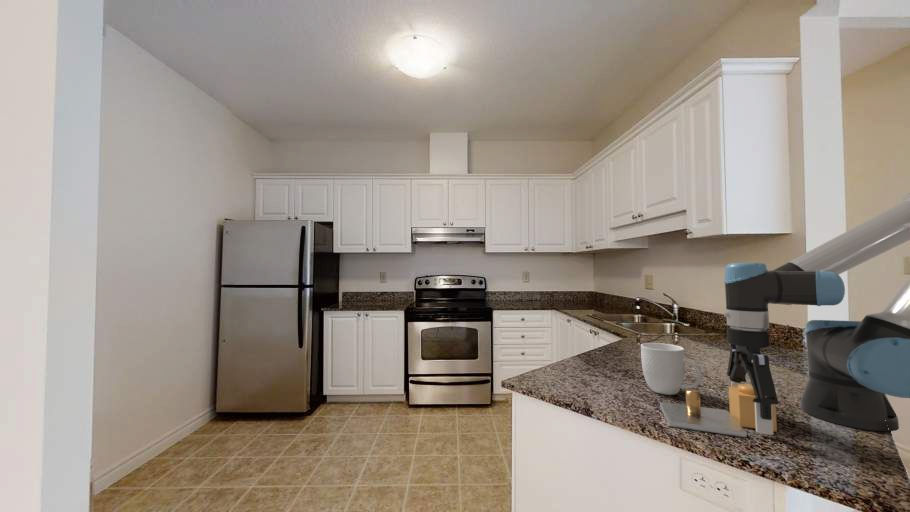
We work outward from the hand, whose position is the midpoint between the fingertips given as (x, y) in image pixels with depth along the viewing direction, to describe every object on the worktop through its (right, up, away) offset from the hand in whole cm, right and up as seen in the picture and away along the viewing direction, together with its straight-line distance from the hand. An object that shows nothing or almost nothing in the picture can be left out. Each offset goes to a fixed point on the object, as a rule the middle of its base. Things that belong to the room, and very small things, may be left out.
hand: (750, 420), depth 77 cm
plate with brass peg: (-11, -1, +1) cm, 11 cm away
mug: (-6, -2, +20) cm, 21 cm away
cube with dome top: (0, -1, 0) cm, 1 cm away
